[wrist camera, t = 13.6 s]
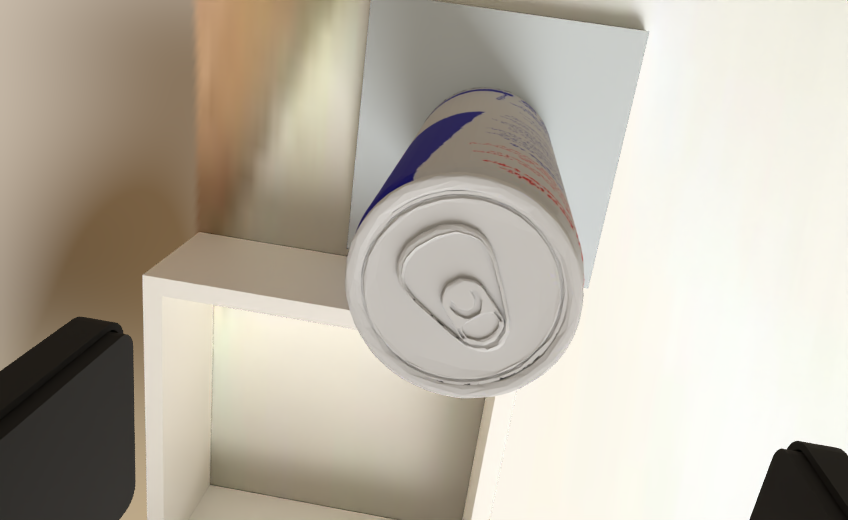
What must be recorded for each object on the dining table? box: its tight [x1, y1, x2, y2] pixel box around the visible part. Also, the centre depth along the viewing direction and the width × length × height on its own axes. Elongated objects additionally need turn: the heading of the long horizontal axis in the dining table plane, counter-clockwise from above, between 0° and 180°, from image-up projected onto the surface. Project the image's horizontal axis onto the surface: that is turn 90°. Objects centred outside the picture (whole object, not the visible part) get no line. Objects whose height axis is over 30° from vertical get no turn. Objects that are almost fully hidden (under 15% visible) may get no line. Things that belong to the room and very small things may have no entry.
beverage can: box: [345, 87, 584, 398], centre depth 22 cm, size 6×6×15 cm
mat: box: [347, 0, 649, 288], centre depth 30 cm, size 11×11×1 cm
